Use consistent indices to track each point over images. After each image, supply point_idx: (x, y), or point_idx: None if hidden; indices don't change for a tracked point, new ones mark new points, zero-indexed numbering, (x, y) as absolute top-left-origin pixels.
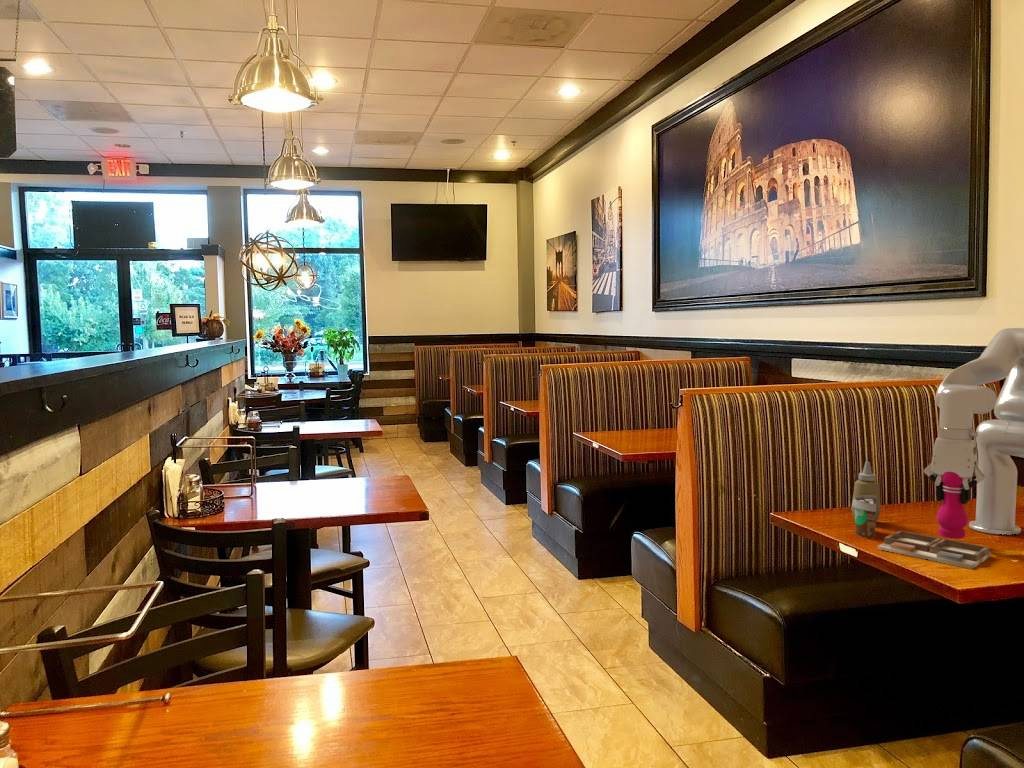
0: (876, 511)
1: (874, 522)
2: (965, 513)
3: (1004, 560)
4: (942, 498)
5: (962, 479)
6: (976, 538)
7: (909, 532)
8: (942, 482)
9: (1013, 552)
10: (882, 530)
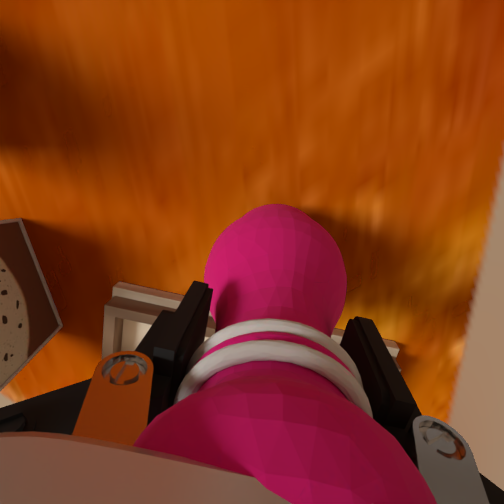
0: None
1: (18, 369)
2: (341, 311)
3: (430, 361)
4: (204, 330)
5: None
6: (363, 93)
7: (140, 315)
8: (153, 409)
9: (478, 248)
10: (33, 189)
